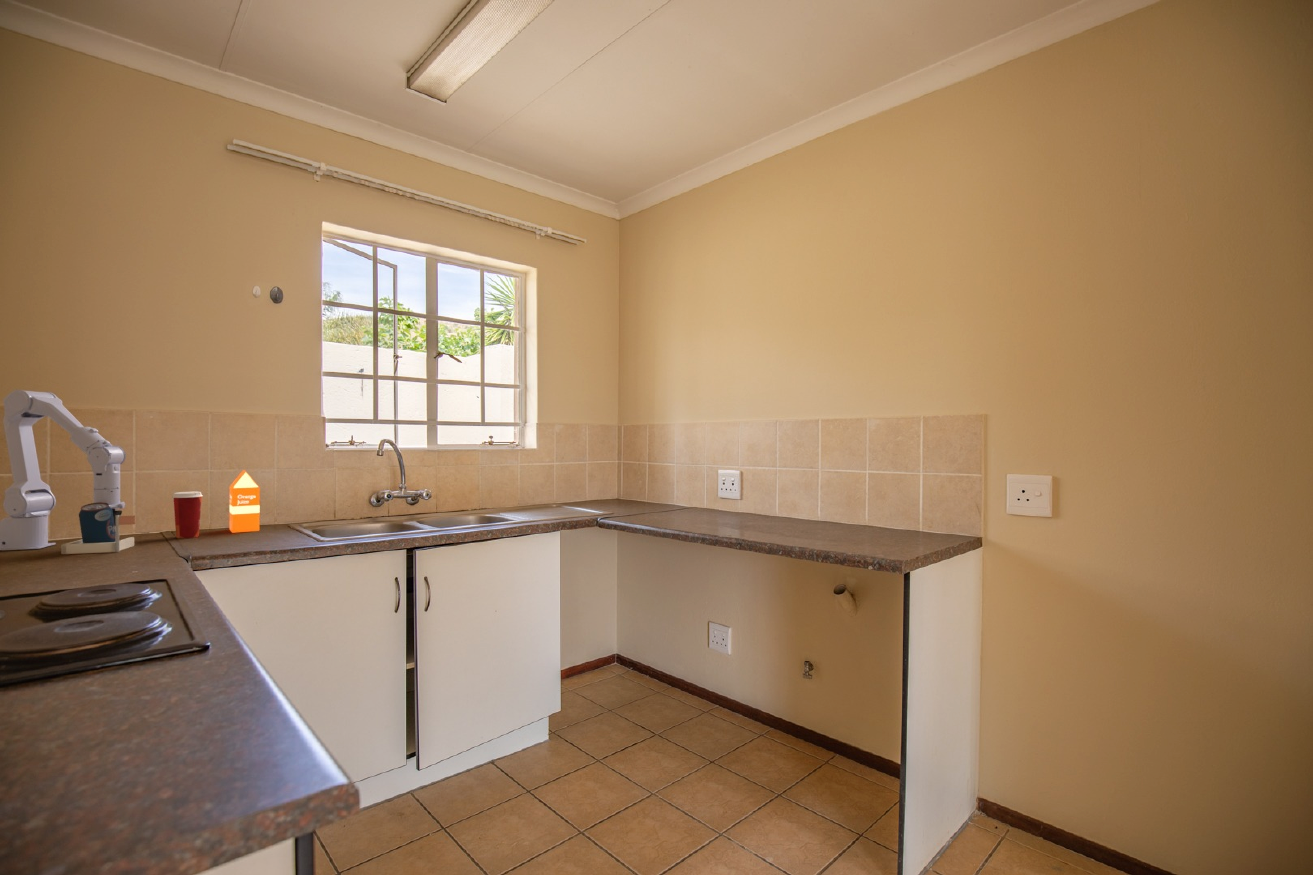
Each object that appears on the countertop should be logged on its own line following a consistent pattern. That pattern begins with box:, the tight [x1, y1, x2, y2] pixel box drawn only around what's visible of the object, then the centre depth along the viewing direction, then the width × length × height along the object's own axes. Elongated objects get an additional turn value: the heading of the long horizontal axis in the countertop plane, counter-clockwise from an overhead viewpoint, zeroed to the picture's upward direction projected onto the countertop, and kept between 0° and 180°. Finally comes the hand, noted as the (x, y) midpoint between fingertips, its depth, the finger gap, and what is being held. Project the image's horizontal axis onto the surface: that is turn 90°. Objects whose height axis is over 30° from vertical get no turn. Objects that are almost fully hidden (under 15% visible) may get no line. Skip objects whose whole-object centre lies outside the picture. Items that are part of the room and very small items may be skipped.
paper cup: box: [172, 491, 204, 540], centre depth 196 cm, size 8×8×14 cm
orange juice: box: [229, 470, 261, 534], centre depth 211 cm, size 8×9×20 cm
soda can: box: [78, 502, 116, 543], centre depth 172 cm, size 7×7×12 cm
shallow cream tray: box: [60, 515, 136, 555], centre depth 173 cm, size 17×11×10 cm, turn 107°
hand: (107, 536), depth 177 cm, fingers closed
